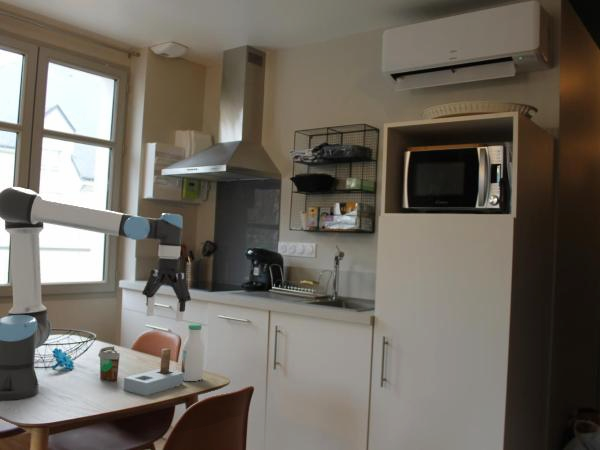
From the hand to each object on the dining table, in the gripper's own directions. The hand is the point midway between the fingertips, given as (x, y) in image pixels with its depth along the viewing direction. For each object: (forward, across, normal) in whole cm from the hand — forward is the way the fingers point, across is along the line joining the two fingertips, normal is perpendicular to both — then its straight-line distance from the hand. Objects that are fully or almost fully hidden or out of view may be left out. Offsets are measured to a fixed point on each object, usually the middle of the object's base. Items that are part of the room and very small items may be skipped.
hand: (164, 318), depth 194 cm
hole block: (+23, -2, +4) cm, 23 cm away
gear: (+24, +40, +9) cm, 47 cm away
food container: (+23, +18, +7) cm, 31 cm away
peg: (+23, -1, -1) cm, 23 cm away
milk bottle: (+23, -4, -12) cm, 26 cm away
